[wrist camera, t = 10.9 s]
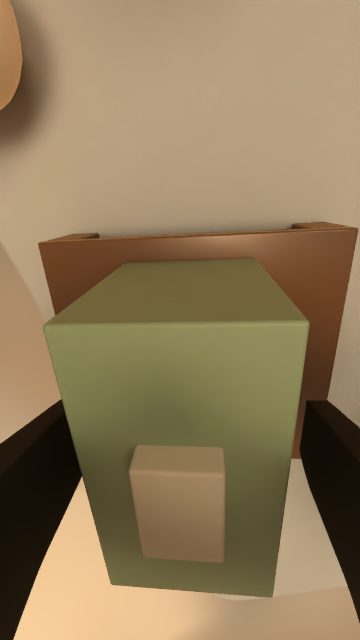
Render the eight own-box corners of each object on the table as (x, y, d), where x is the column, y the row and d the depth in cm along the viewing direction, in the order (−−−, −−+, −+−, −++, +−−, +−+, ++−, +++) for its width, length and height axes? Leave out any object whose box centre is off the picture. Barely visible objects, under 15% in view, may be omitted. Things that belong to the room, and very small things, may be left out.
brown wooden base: (298, 417, 17) (316, 460, 14) (106, 413, 18) (88, 452, 15) (325, 221, 12) (359, 227, 10) (71, 234, 14) (36, 242, 11)
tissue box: (246, 441, 14) (278, 632, 8) (146, 438, 14) (102, 616, 8) (255, 257, 10) (327, 339, 4) (124, 262, 11) (16, 341, 5)
